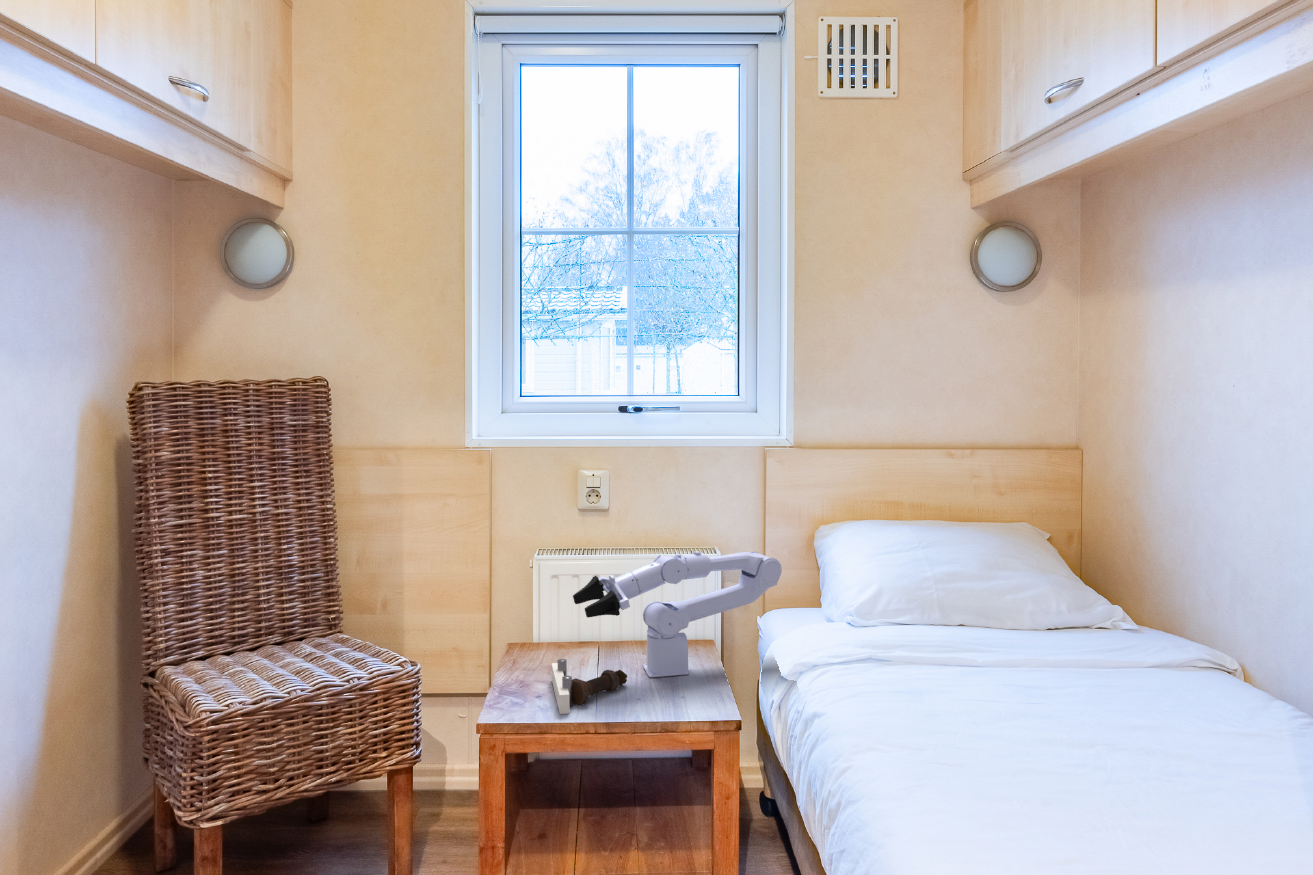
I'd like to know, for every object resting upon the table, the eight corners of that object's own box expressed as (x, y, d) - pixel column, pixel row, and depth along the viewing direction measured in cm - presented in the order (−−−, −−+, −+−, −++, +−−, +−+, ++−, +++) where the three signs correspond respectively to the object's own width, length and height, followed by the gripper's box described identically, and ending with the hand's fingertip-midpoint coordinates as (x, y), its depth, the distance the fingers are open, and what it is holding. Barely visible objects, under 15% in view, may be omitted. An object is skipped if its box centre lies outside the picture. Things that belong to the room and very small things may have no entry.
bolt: (625, 693, 185) (577, 711, 173) (611, 678, 188) (563, 695, 176) (635, 674, 183) (587, 691, 171) (621, 658, 186) (572, 674, 174)
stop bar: (564, 679, 189) (564, 653, 188) (574, 712, 169) (574, 684, 169) (551, 680, 188) (551, 654, 188) (559, 714, 168) (559, 685, 168)
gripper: (617, 557, 194) (565, 579, 190) (643, 579, 182) (587, 603, 177) (624, 583, 197) (572, 605, 192) (649, 607, 184) (594, 631, 179)
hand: (579, 606), depth 185 cm, fingers open, 7 cm apart
